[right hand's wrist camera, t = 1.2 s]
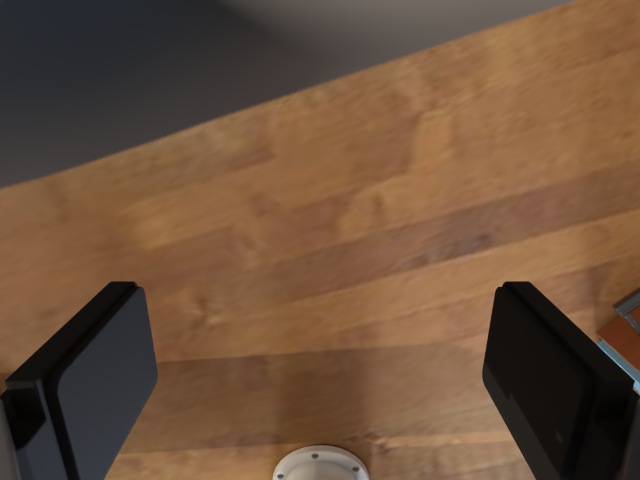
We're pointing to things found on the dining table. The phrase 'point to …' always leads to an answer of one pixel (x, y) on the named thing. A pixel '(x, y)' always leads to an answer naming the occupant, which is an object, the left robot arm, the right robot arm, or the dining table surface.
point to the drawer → (625, 330)
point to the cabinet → (621, 363)
